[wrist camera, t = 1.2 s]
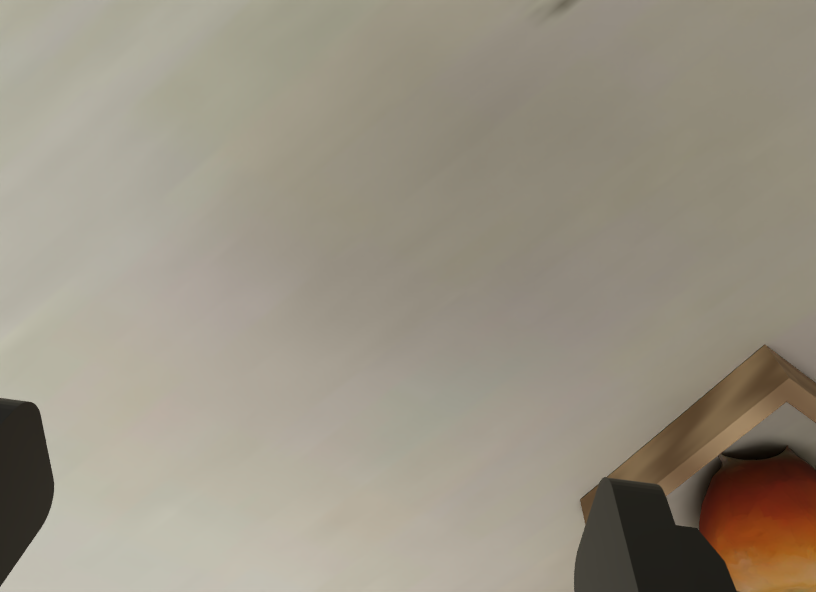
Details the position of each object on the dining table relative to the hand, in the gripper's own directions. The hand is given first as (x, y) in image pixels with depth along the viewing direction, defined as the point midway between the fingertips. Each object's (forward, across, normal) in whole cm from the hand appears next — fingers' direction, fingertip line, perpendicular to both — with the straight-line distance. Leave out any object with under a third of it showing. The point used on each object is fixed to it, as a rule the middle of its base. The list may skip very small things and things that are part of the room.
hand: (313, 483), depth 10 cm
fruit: (+25, -22, +20) cm, 39 cm away
